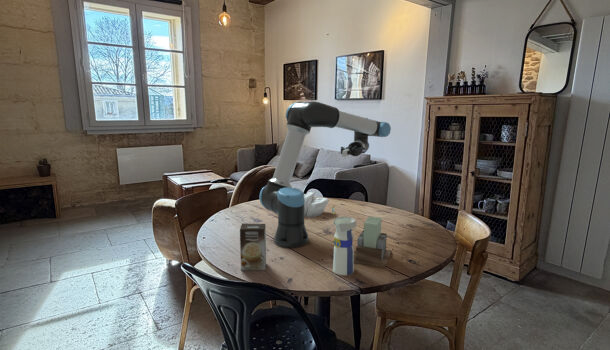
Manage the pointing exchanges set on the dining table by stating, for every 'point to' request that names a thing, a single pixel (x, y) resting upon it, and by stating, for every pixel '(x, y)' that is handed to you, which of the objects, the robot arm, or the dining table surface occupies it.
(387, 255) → the band guide
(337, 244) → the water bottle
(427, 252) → the dining table surface
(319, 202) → the wavy white extrusion
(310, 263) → the dining table surface
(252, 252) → the food box
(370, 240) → the sage block
